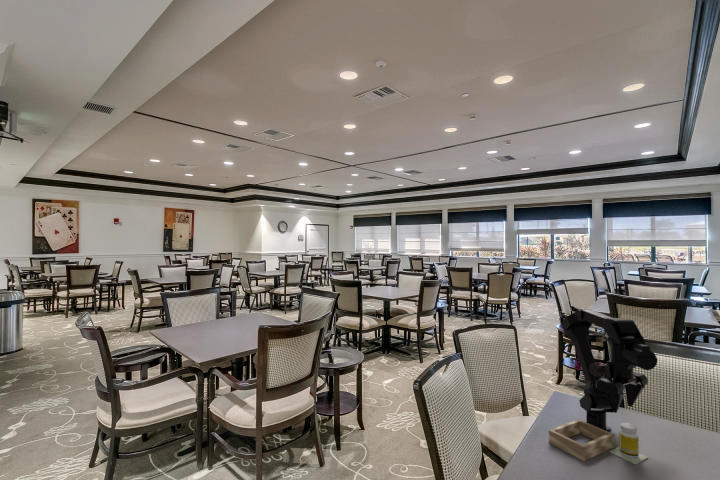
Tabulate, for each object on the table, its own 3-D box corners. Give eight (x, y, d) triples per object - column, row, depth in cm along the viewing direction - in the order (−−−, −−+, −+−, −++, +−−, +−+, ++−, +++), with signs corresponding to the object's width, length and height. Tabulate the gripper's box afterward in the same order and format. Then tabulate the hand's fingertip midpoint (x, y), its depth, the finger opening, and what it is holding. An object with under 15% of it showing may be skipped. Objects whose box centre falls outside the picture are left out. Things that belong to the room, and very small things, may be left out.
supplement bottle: (642, 459, 105) (641, 430, 105) (624, 457, 106) (623, 428, 106) (633, 450, 109) (632, 422, 110) (615, 448, 110) (615, 421, 111)
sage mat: (621, 446, 112) (621, 445, 112) (648, 458, 106) (647, 456, 106) (609, 452, 109) (609, 451, 109) (635, 464, 103) (635, 463, 103)
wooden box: (578, 431, 122) (578, 419, 122) (613, 447, 112) (613, 434, 112) (549, 442, 114) (548, 430, 114) (584, 461, 104) (584, 447, 104)
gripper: (610, 349, 124) (610, 394, 123) (578, 356, 115) (578, 405, 114) (648, 357, 114) (648, 407, 113) (616, 366, 105) (617, 420, 105)
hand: (622, 409), depth 112 cm, fingers open, 9 cm apart
